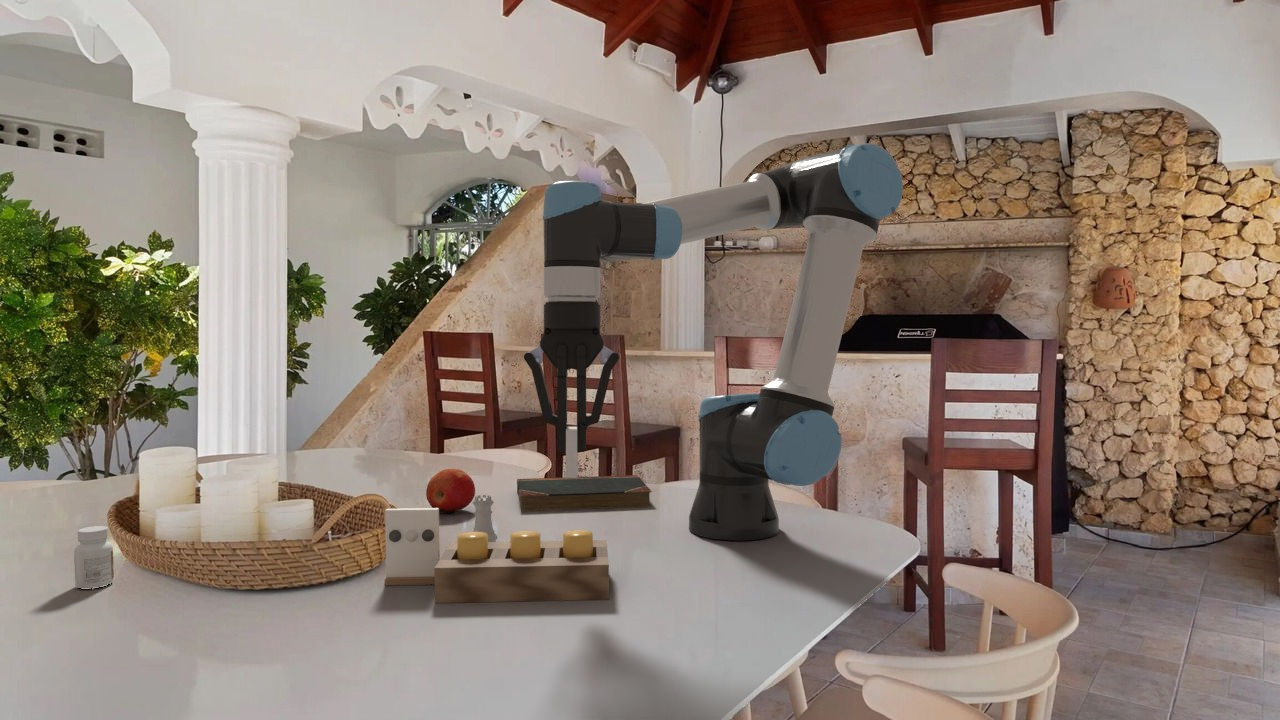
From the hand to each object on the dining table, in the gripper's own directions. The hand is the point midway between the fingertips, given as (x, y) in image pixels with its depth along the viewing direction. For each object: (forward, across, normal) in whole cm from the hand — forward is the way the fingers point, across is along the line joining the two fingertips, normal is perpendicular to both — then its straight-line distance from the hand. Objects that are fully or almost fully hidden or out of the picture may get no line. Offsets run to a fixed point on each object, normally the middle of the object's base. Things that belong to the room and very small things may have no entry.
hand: (571, 475), depth 115 cm
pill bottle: (+15, +64, -2) cm, 66 cm away
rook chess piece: (+15, +15, -19) cm, 28 cm away
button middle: (+12, +6, +1) cm, 13 cm away
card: (+15, +22, -2) cm, 26 cm away
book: (+15, 0, -53) cm, 56 cm away
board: (+15, +6, +1) cm, 16 cm away
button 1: (+12, +13, +1) cm, 18 cm away
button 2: (+12, -1, +1) cm, 12 cm away
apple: (+15, +24, -43) cm, 51 cm away
